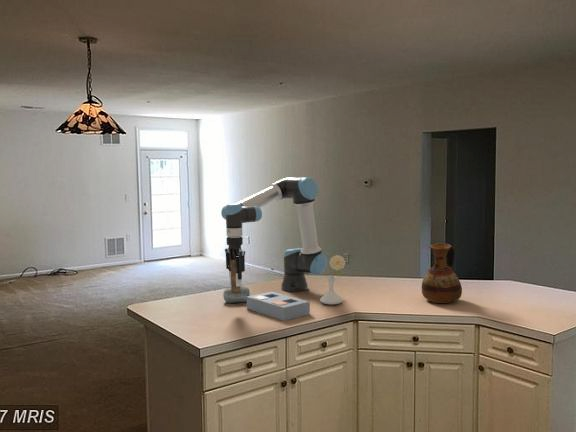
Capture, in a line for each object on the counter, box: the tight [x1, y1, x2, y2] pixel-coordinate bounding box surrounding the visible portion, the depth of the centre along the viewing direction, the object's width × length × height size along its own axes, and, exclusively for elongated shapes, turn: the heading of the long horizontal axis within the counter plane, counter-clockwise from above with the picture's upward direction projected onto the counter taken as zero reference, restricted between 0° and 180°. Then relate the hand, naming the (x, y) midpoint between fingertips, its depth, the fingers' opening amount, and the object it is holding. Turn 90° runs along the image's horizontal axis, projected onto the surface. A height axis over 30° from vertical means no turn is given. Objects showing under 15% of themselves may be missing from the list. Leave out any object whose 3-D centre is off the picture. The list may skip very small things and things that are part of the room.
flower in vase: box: [319, 254, 346, 305], centre depth 259 cm, size 13×11×25 cm
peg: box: [230, 259, 241, 294], centre depth 243 cm, size 4×4×16 cm
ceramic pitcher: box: [421, 242, 463, 304], centre depth 263 cm, size 20×20×30 cm
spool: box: [222, 285, 251, 304], centre depth 264 cm, size 14×10×10 cm
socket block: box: [246, 291, 311, 322], centre depth 246 cm, size 28×16×6 cm, turn 41°
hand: (235, 285), depth 244 cm, fingers closed on peg, 4 cm apart
